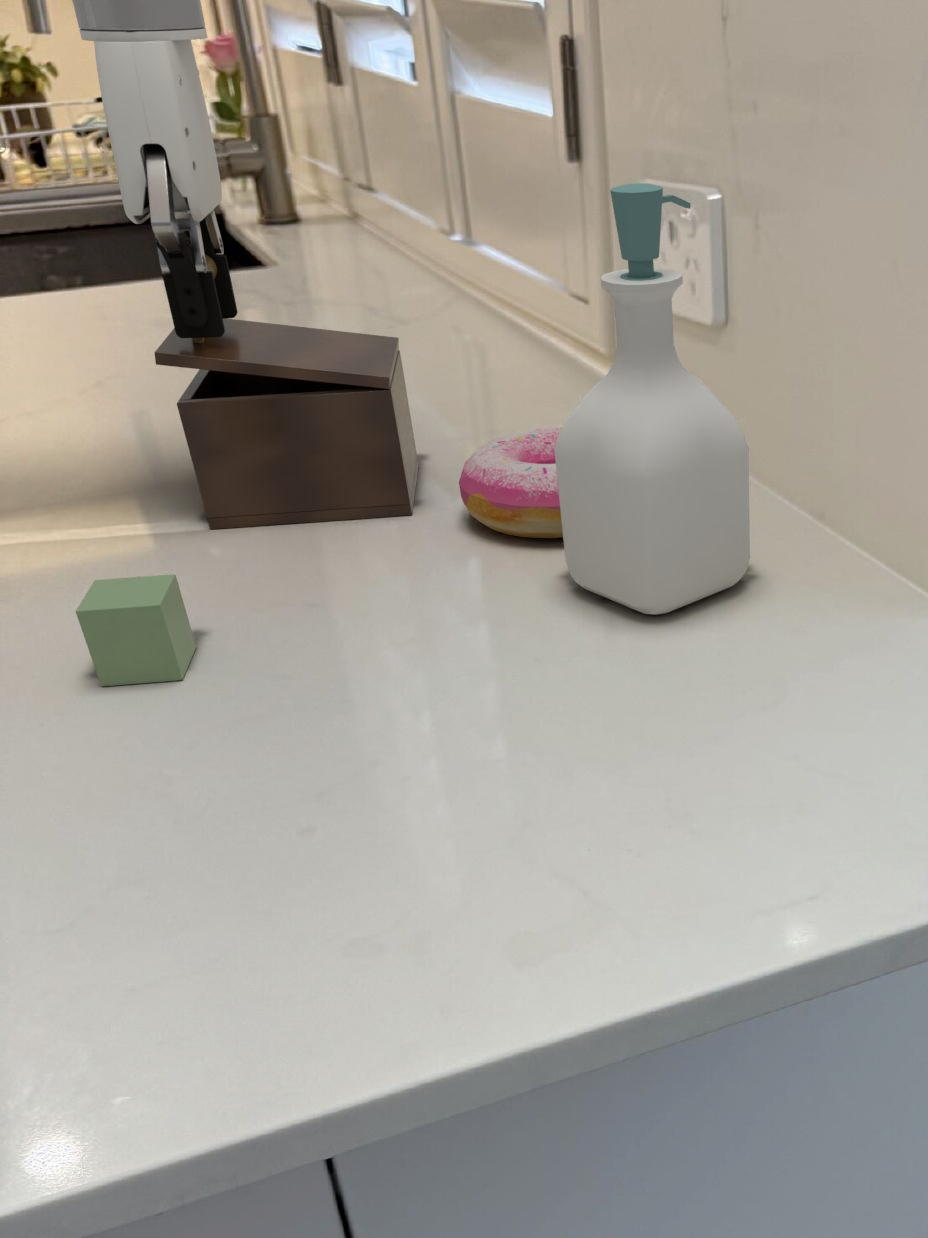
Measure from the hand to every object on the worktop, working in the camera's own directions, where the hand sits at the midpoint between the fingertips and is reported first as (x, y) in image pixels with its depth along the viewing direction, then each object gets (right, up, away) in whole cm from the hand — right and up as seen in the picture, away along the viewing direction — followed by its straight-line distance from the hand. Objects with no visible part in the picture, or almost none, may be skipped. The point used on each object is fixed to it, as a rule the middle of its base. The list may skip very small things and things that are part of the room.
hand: (207, 324), depth 93 cm
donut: (+24, -12, +4) cm, 28 cm away
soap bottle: (+32, -21, -7) cm, 39 cm away
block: (+3, -28, -15) cm, 32 cm away
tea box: (+5, -9, +8) cm, 13 cm away
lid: (+5, -1, +2) cm, 5 cm away
